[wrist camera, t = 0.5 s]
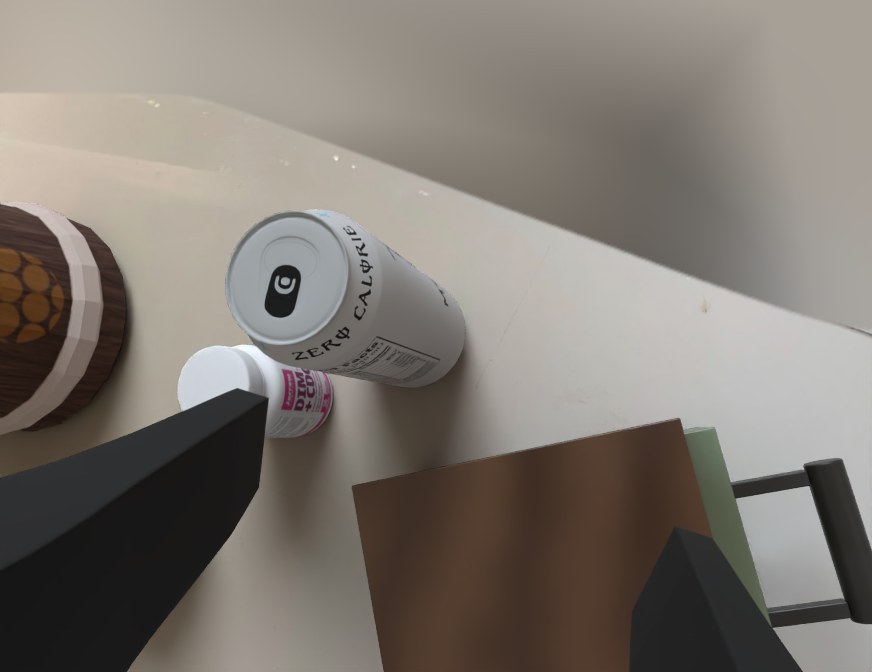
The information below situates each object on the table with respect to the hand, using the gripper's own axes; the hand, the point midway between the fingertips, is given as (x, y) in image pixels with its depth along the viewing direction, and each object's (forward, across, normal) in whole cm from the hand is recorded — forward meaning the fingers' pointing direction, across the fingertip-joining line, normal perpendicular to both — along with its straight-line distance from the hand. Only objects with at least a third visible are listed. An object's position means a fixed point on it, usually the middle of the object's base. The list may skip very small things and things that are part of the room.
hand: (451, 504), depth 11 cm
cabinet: (+17, -6, +16) cm, 24 cm away
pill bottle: (+22, +11, +15) cm, 29 cm away
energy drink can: (+24, +5, +9) cm, 26 cm away
